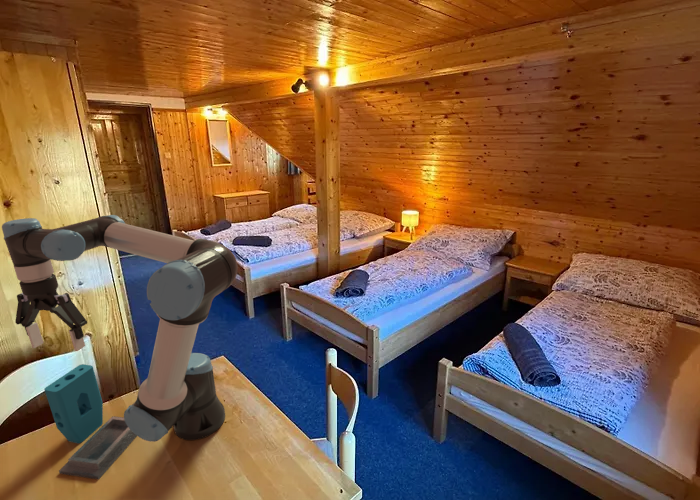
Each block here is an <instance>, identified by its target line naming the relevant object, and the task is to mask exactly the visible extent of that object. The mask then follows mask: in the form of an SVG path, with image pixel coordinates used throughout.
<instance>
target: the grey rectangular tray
mask: <svg viewBox="0 0 700 500" xmlns="http://www.w3.org/2000/svg"><path fill="white" fill-rule="evenodd" d="M137 437H138V436H137V435H135V434H134V433H133V432H132V431H131V430H130V428H129V427H128V426H127V424H126V422H125V420H124V416H122V417H121V416H111V417H110V418H109V419H108V420H107V421H106V422H105V423H103V424H102V425H101V426H100V427H99V428H98V429H97V430H96V432H95V433H93V434H92V436H91V437H90V438H89V439H88V440H87V441H85V442H84V443H83V444H82V445H81V446H80V448H78V449H77V450H76V451H75V452H74V453H73V454H72V455H71V456H70V457H69V458H68V461H67V462H66V463H65V464H64V465H63V466H62V467H61V468H60V469H59V470H58V472H59V473H58V474H61V475H67V476H73V477H79V478H80V477H81V478H87V479H92V480H93V479H94V480H100V479H101V478H102V477H103V475H104V474H105V473H106V472H107V471H108V470H109V468H111V466H112V465H113V464H114V463H115V461H117V460H118V458H119V457H121V455H122V454H123V453H124V452H125V450H126V449H127V448H128V447H129V446H130V445H131V443H133V441H134V440H135V439H136V438H137Z"/></svg>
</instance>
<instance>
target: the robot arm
mask: <svg viewBox="0 0 700 500" xmlns="http://www.w3.org/2000/svg"><path fill="white" fill-rule="evenodd" d="M1 230H2V234H3V240H4V243H5V244H6V245H5V246H6V247H7V251H8V253H9V257H10V259H11V262H12V266H13V269H14V272H15V275H16V278H17V280H18V281H19V283H18V284H19V286H20V289H21V291H22V292H21V293H19V294H17V295H16V299H17V307H16V316H15V321H14V323H15V324H16V325H21V326H22V327H23V328H24V330H25V332H26V335H27V337H28V339H29V342H30V345H31V348H32V349H36V348H38V347H40V346H41V345H42V344H44V340H43V337H42V333H41V330H40V327H39V325H38V322H36V318H37V317H38V315H39V313H40V311H47V312H50V313H51V314H54V315H56V316H57V317H58V319H60V320H61V321H62V322H63V323H64V324H65V325H67V326H68V328H69V330H68V333H69V336H70V339H71V343H72V345H73V346H72V347H73V349H74V352H78V351H80V350H81V349H83V348H85V347H86V344H85V341H84V337H85V336H84V332H83V326H85V325H87V324H88V321H87V320H86V318H85V317H84V315H83V314H82V312H81V311H80V310H79V309H78V308H77V306H76V305H75V303H74V302H73V301H72V298H71V296H70V294H69V293H67V292H65V293H63V294H58V288H59V283H58V280H57V276H56V274H54V273H55V270H54V266H53V264H52V261H57V262H58V261H59V262H66V261H67V262H69V261H75V260H76V259H78V258H80V257H81V256H82V255H83V254H84V253H85V252H86V251H90V250H92V249H95V248H98V247H106V248H108V249H109V248H110V249H113V250H118V251H120V252H124V253H129V254H131V255H135V256H139V257H143V258H146V259H150V260H152V261H153V260H154V261H158V262H162V263H163V264H164V263H165V264H164V265H162V267H160V268H158V269H157V270H156V271H154V273H152V274H151V276H150V277H149V280H148V282H147V284H146V298H147V300H148V301H150V303H149V305H150V307H151V310H152V311H153V312H154V313H155V314H156V316H157V317H158V318H159V321H158V326H157V332H156V337H155V341H154V347H153V351H152V355H151V360H150V361H151V362H150V365H149V366H150V367H149V371H148V375H147V378H146V379H145V380H143V382H142V383H141V384H140V386H139V388H138V393H137V395H136V397H137V398H136V399H135V401H134V402H133V404H130V405H129V406H128V407H127V409H125V411H124V413H123V417H124V420H125V422H126V424H127V426H128V427H129V428H130V430H131V431H132V432H133V433H134V434H135V435H137V437H138V438H140V439H142V440H144V441H146V442H149V443H150V442H158V441H160V440H161V439H162V438H163V437H164V436H165V435H167V434H168V433H169V431H170V430H171V429H172V428H173V429H174V434H175V435H176V437H178V438H180V439H182V440H186V441H195V440H201V439H204V438H207V437H209V436H210V435H212V434H214V433H215V432H216V431H218V429H220V428H221V427H222V425H223V424H224V422H225V420H226V410H225V407H224V405H223V403H222V401H220V399H219V397H218V395H217V390H216V384H215V376H214V368H213V367H214V366H213V364H212V361H211V358H210V356H208V355H207V354H204V353H200V352H193V348H194V345H195V340H196V337H197V332H198V329H199V327H200V326H199V325H200V324H202V323H203V322H205V321H206V319H207V318H208V316H209V314H210V310H211V307H212V304H213V303H212V302H213V300H214V298H215V297H216V296H218V295H219V294H221V293H223V292H224V291H225V290H227V289H228V288H229V287H230V286H232V284H233V283H234V281H236V277H237V274H238V267H239V266H238V262H237V258H236V256H235V255H234V253H233V252H232V250H231V249H229V248H228V247H226V246H225V245H223V244H221V243H220V242H217V241H212V240H211V239H209V240H208V239H205V238H201V237H200V238H195V239H194V240H193V239H189V238H185V237H180V236H177V235H173V234H168V233H164V232H160V231H156V230H152V229H148V228H144V227H140V226H135V225H132V224H127V223H126V222H125V221H124V219H122V218H120V217H119V216H118V215H117V214H109V215H101V216H98V217H95V218H92V219H88V220H84V221H80V222H76V223H72V224H69V225H64V226H61V227H60V226H59V227H56V228H43V226H42V225H41V223H40V220H39V219H37V218H32V217H29V218H18V219H13V220H8V221H6V222H4V223H2V225H1Z"/></svg>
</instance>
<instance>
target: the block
mask: <svg viewBox="0 0 700 500" xmlns="http://www.w3.org/2000/svg"><path fill="white" fill-rule="evenodd" d="M97 380H98V379H97V378H96V373H95V369H94V365H91V364H84V363H83V364H79V365H76V367H74V368H73V369H71V370H70V371H68V372H67V373H65V374H63V375H62V376H60V378H58V379H56V380H54V381H53V382H51V383H50V384H49V385H47V386H45V388H44V393H45V395H46V398H47V402H48V404H49V407H50V411H51V414H52V418H53V420H54V423H55V427H56V429H57V430H58V431H59V432H60V433H61V435H62V436H63V437H64V438H65V439H66V440H67V441H68V443H74V444H81V443H83V442H84V441H85V440H86V439H88V438H89V437H90V436H91V435H93V434H94V432H95V431H98V430H99V429H100V428H101V427H102V426H103V425H104V423H103V421H104V420H103V418H104V417H103V416H104V415H103V414H104V411H103V410H104V408H103V407H104V404H103V403H104V402H103V400H102V398H103V397H102V396H101V392H100V388H99V385H98V381H97Z"/></svg>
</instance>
